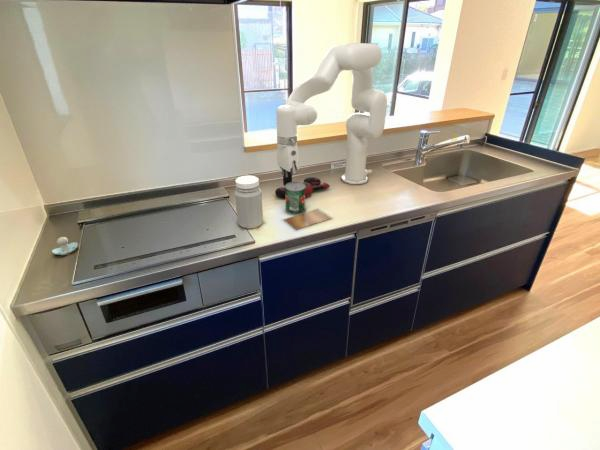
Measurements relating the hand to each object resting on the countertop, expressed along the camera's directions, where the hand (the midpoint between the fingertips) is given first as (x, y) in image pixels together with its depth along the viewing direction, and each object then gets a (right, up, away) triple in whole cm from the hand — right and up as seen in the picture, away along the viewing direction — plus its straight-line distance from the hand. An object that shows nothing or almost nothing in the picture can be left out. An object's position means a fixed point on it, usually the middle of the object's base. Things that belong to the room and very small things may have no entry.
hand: (287, 185), depth 139 cm
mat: (+8, -14, -5) cm, 17 cm away
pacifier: (-73, -25, -25) cm, 81 cm away
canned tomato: (+3, -10, +1) cm, 11 cm away
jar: (-14, -16, -8) cm, 22 cm away
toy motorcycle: (+7, -2, +16) cm, 18 cm away
